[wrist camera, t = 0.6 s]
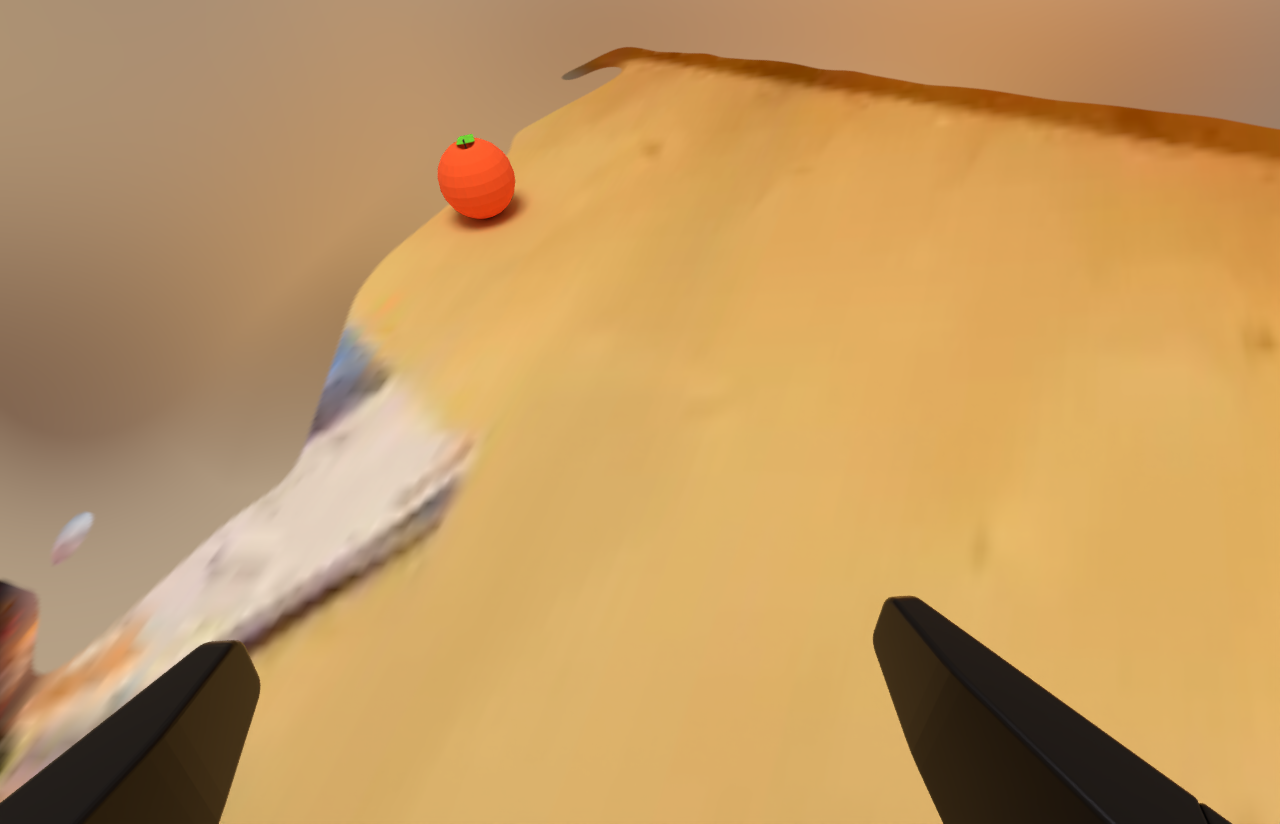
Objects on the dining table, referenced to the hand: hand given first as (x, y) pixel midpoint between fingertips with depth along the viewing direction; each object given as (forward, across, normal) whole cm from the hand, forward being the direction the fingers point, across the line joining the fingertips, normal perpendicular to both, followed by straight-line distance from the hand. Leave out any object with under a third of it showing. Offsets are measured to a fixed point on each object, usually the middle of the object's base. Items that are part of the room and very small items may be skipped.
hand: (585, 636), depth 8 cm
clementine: (+54, +8, +4) cm, 55 cm away
